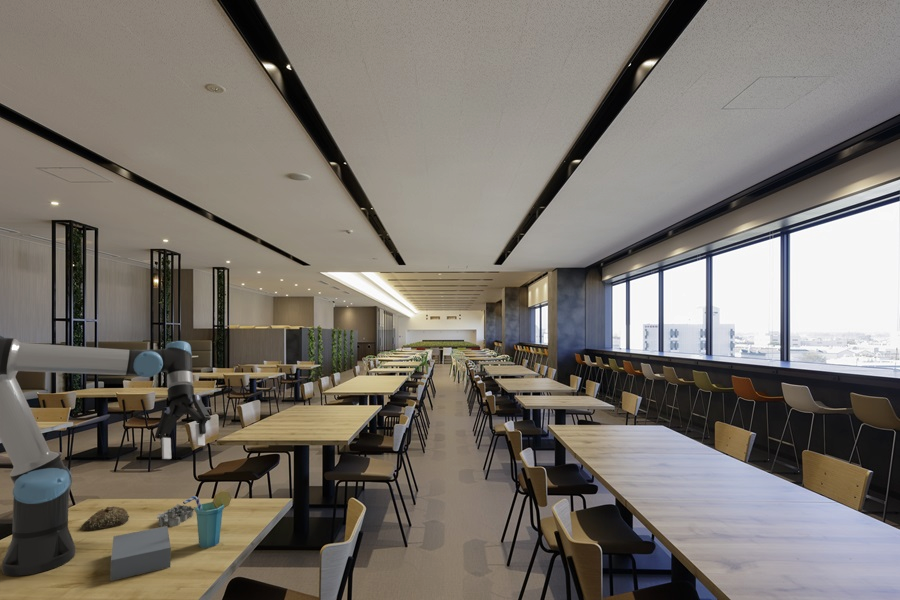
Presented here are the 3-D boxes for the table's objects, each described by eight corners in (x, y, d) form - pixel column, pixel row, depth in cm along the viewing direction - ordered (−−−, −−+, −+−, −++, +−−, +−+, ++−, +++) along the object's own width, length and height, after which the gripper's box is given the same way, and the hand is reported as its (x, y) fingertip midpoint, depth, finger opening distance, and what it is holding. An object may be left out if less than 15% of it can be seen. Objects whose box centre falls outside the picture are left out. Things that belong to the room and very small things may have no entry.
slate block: (110, 581, 124) (110, 560, 124) (113, 554, 138) (113, 536, 138) (170, 567, 131) (170, 547, 131) (167, 543, 145) (167, 525, 145)
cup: (191, 557, 136) (191, 501, 137) (174, 551, 140) (175, 497, 140) (236, 538, 148) (236, 487, 149) (219, 533, 152) (220, 483, 152)
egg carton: (174, 528, 157) (174, 515, 157) (153, 527, 158) (153, 514, 158) (197, 515, 167) (197, 503, 167) (177, 514, 168) (178, 502, 169)
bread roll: (125, 527, 158) (125, 511, 158) (77, 533, 153) (78, 517, 154) (133, 513, 170) (133, 498, 170) (89, 519, 165) (89, 503, 165)
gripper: (219, 376, 164) (224, 440, 155) (161, 401, 170) (163, 464, 161) (201, 372, 157) (205, 439, 149) (141, 398, 163) (142, 464, 154)
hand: (183, 452), depth 155 cm, fingers open, 13 cm apart
